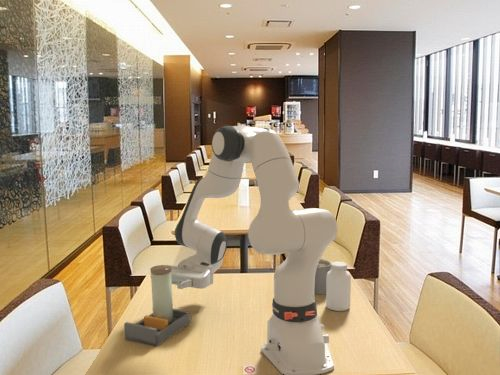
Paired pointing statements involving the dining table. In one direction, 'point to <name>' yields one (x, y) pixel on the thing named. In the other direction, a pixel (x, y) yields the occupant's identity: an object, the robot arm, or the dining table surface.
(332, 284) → the pill bottle
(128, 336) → the gray open tray
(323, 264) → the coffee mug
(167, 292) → the jar
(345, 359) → the dining table surface
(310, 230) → the robot arm
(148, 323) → the block
